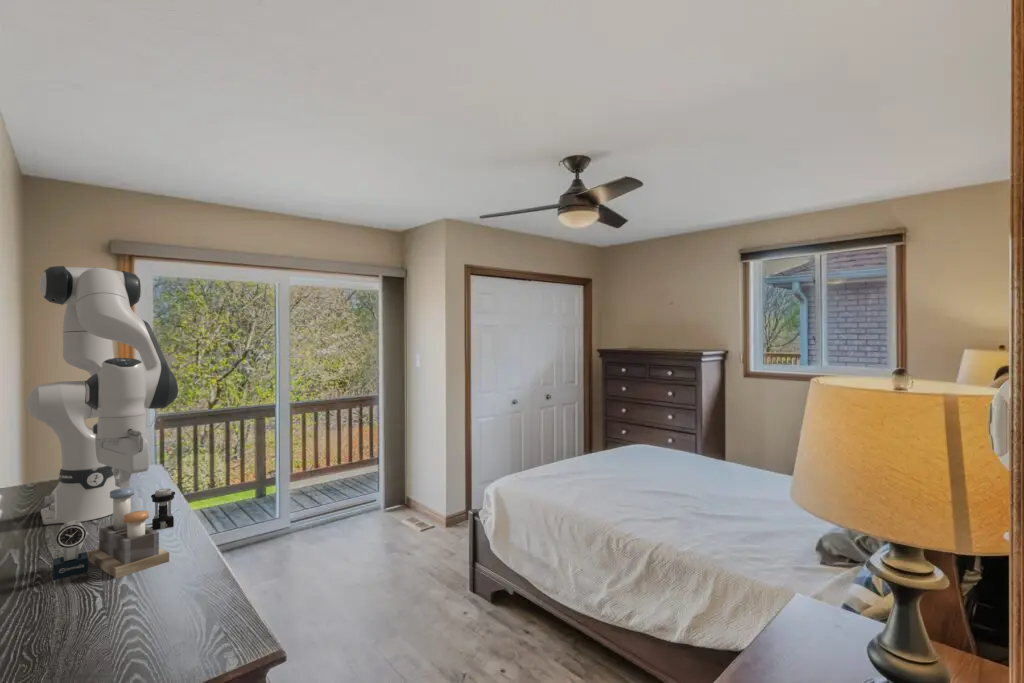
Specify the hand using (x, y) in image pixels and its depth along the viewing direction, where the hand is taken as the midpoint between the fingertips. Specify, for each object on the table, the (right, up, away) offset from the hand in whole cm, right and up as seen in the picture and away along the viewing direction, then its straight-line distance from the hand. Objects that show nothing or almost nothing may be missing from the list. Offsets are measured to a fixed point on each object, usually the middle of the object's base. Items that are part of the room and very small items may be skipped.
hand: (122, 486), depth 115 cm
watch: (-4, -16, -8) cm, 19 cm away
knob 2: (+7, -14, -4) cm, 16 cm away
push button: (-4, -17, +18) cm, 25 cm away
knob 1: (0, -10, 0) cm, 10 cm away
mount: (+3, -16, -2) cm, 17 cm away
